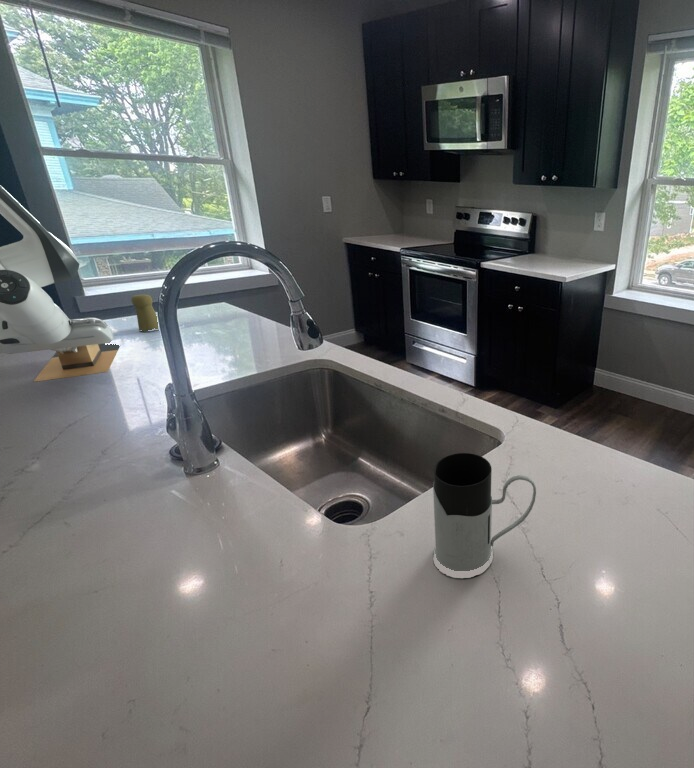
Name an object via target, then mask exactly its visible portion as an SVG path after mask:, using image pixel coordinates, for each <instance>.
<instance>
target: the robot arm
mask: <svg viewBox="0 0 694 768" xmlns="http://www.w3.org/2000/svg"><path fill="white" fill-rule="evenodd" d="M0 215H1V216H2V217H3V218H4V219H5V220H6V221H7V222H8V223H9V224H11V225H12V226H13V227H14V229H16V230H17V231H18V232H20V234H21V235H22V236H23V237H22V239H21V240H18V241H15V242H12V243H8V244H6V245H2V246H0V353H2V354H8V355H13V354H21V353H31V352H39V351H40V352H41V351H53V352H56V351H58V352H60V353H61V354H67V353H76V352H77V346H86V345H95V344H103V343H110V342H111V341H112V340H113V338H114V333H113V329H112V327H110V326H109V325H108V324H107V322H106V321H105V320H104V319H100V318H97V317H84V318H74V319H73V318H72V319H70V318H69V316H67V314H66V312H64V311H63V310H62V309H61V307H60V306H58V305H57V304H56V303H54V300H53V298H52V297H51V296H50V295H49V294H48V293H47V291H45V290H44V289H43V288H44V287H47V286H49V285H52V284H57V283H62V282H66V281H69V280H70V281H71V280H73V279H74V278H75V277H76V275H77V273H78V271H79V267H80V263H79V259H78V258H77V255H75V253H74V252H73V251H72V249H71V248H70V247H69V246H68V245H67V244H65V242H63V241H62V240H61V239H59V238H57V236H55V235H54V234H52V233H51V232H50V231H49V230H47V229H46V228H45V227H44V226H43V225H42V224H41V223H40V221H38V220H37V219H36V217H34V216H33V214H31V213H30V212H29V211H28V210H27V209H26V208H25V207H24V206H23V205H21V203H20V202H19V201H18V200H17V199H16V198H14V196H12V194H11V193H9V192H8V191H7V190H6V189H5V188H4V187H3V186H2V185H1V184H0Z"/></svg>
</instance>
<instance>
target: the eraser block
mask: <svg viewBox="0 0 694 768" xmlns="http://www.w3.org/2000/svg"><path fill="white" fill-rule="evenodd" d="M56 352H57V355H58V357H59V360H60V362H61V366H62V368H63V370H65V369H73V368H81V367H89V366H94V365H95V363H96V361H97V360H98V358H99V356H100V354H101V351H100V349H99V346H98V344H95V345H86V346H77V352H76V353H67V354H61V353H60V352H58V351H55V353H56Z"/></svg>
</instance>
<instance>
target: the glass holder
mask: <svg viewBox="0 0 694 768" xmlns="http://www.w3.org/2000/svg"><path fill="white" fill-rule="evenodd" d="M492 471H493V470H492V465H491V462H490V461H488V460H487V459H486V458H485V457H483V456H482V455H479V454H476V453H471V452H458V453H452V454H448V455H446V456H444V457H442V458H441V459H439V460H438V461H437V462H436V464H434V468H433V480H434V481H433V482H432V492H433V493H432V495H433V517H434V518H433V519H434V540H435V541H434V542H435V548H436V549H435V548H434V550H435V554H436V558H437V560H438V561H439V562H440V564H442V565H443V566H445V567H446V568H449V569H451V570H454V571H470V570H474V569H477V568H479V567H481V566H483V565H484V564H485V563H486V562H487V561H488V560H489V558H490V556H491V552H492V549H491V546H492V548H493V547H494V543H495V542H496V541H497V540H498V539H500V538H501V537H503V536H504V535H505V534H507V533H509V532H511V531H512V530H513V529H515V528H517V526H519V525H520V524H522V523H523V522H524V521H525V520H526V519H527V518H528V516H529V515H530V513H531V511H532V510H533V507H534V504H535V502H536V498H537V497H536V496H537V487H536V483H535V482H534V480H533V479H532V478H530V477H529V476H526V475H523V474H521V475H519V474H517V475H515V476H512V477H510V478H508V479H507V480H506V481H505V483H504V486H503V489H502V496H501V497H500V498H498V499H493V498H492V474H493V473H492ZM521 480H522V481H525V482H528V483H529V484H530V485H531V486H532V489H533V490H532V491H533V493H532V498H531V501H530V503H529V506H528V507H527V508H526V510H525V512H524V513H523V514H522V515H521V516H520V517H519V518H518V519H517V520H515V521H514V522H513V523H512V524H510V525H508V526H507V527H505V528H504V529H502V530H501V531H499V532H497V533H496V534H494V535H493V537H492V524H493V522H492V519H493V505H500V504H502V503H503V502H504V501H505V500H506V496H507V495H506V494H507V490H508V487H509V486H510V485H511V484H512V483H514V482H515V481H521Z"/></svg>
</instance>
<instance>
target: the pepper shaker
mask: <svg viewBox="0 0 694 768" xmlns="http://www.w3.org/2000/svg"><path fill="white" fill-rule="evenodd" d="M131 304H132V305H133V306H134V307H135V313H136V319H137V325H138V331H139V330H142V331H148V330H152V329H154V328H155V329H158V322H157V317H158V315H157V312H156V311H155V309H154V306H153V304H154V300H153V298H152V296H151V295H150V294H145V293H144V294H143V293H142V294H135V295H133V296H132V297H131ZM156 315H157V316H156Z"/></svg>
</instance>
